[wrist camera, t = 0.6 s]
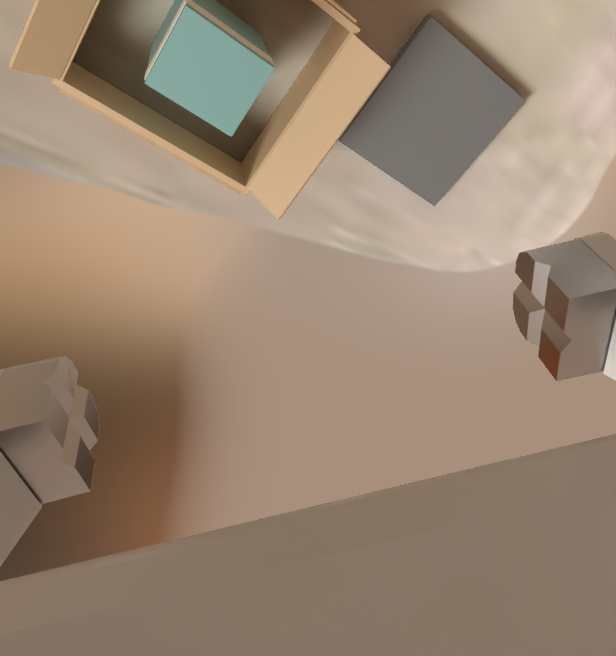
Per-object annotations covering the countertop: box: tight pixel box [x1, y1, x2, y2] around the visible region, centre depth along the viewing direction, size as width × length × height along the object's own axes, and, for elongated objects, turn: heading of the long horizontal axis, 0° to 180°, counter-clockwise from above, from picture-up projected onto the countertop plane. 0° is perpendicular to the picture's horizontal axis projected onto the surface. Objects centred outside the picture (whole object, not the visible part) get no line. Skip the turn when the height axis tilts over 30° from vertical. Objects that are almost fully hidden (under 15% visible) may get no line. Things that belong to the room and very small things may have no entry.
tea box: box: [144, 0, 275, 137], centre depth 39 cm, size 5×6×9 cm
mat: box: [339, 15, 526, 206], centre depth 48 cm, size 11×11×1 cm
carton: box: [9, 0, 391, 219], centre depth 40 cm, size 14×20×7 cm
